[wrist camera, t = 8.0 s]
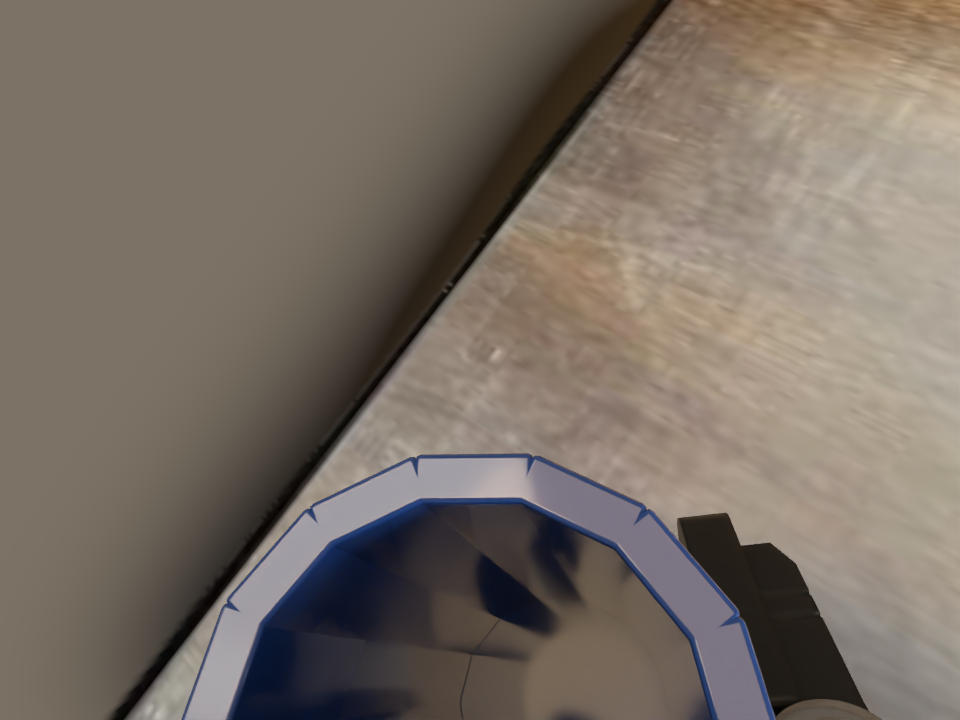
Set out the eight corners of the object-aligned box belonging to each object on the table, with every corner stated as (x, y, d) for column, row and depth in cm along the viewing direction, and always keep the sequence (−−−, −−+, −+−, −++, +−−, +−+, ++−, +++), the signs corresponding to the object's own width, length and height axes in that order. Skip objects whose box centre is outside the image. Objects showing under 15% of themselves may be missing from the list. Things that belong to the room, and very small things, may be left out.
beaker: (547, 907, 14) (379, 1367, 5) (404, 675, 16) (84, 674, 7) (745, 738, 14) (949, 850, 5) (580, 533, 16) (513, 348, 7)
